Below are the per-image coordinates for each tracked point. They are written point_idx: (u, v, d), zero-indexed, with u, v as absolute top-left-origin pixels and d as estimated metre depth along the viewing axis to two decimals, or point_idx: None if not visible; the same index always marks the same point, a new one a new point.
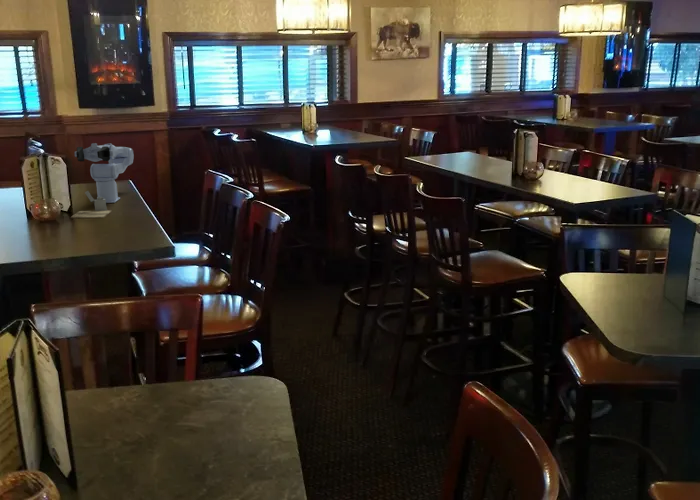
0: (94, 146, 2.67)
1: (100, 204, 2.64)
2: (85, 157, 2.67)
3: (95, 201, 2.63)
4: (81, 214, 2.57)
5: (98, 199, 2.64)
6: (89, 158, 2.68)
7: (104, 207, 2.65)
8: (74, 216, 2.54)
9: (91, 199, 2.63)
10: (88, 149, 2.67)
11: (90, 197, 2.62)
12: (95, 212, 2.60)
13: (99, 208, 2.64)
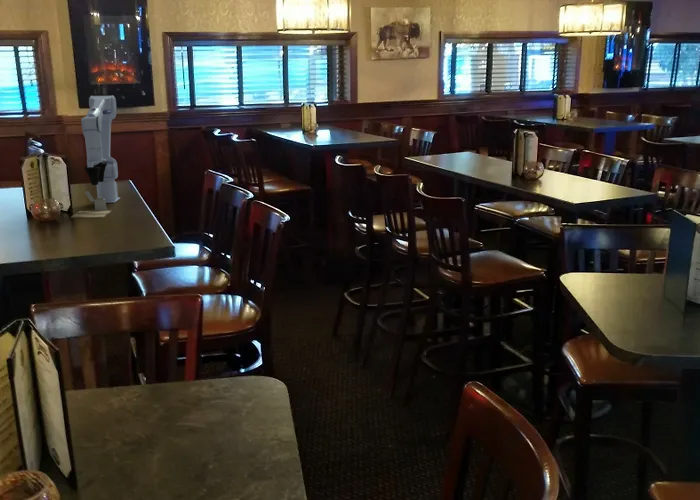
0: None
1: (100, 204, 2.64)
2: None
3: (95, 201, 2.63)
4: (81, 214, 2.57)
5: (98, 199, 2.64)
6: None
7: (104, 207, 2.65)
8: (74, 216, 2.54)
9: (91, 199, 2.63)
10: (98, 162, 2.63)
11: (90, 197, 2.62)
12: (95, 212, 2.60)
13: (99, 208, 2.64)
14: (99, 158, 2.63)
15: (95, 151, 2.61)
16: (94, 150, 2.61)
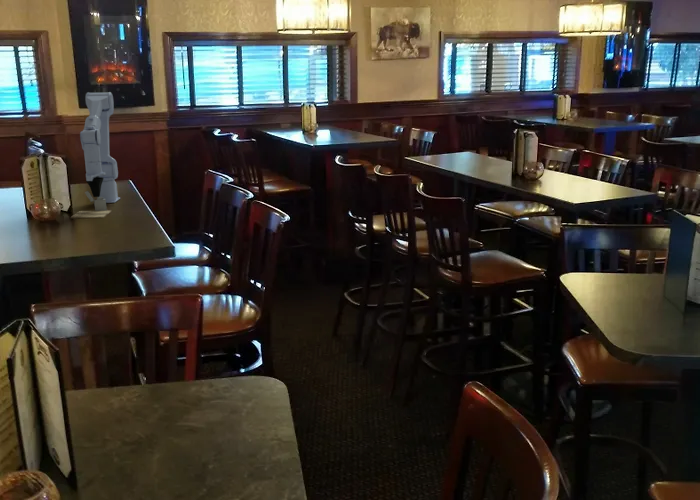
0: (102, 174, 2.64)
1: (100, 204, 2.64)
2: None
3: (95, 201, 2.63)
4: (81, 214, 2.57)
5: (98, 199, 2.64)
6: None
7: (104, 207, 2.65)
8: (74, 216, 2.54)
9: (91, 199, 2.63)
10: (97, 175, 2.61)
11: (90, 197, 2.62)
12: (95, 212, 2.60)
13: (99, 208, 2.64)
14: (98, 171, 2.61)
15: (94, 164, 2.60)
16: (93, 163, 2.59)
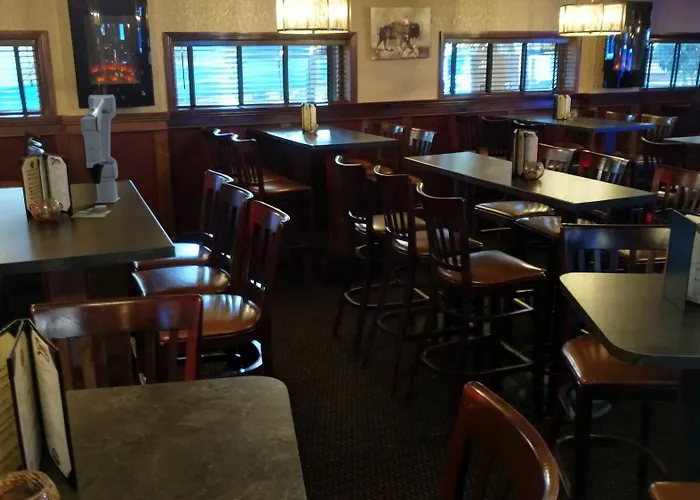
0: (102, 161, 2.64)
1: None
2: None
3: (96, 211, 2.61)
4: (81, 214, 2.57)
5: (99, 211, 2.61)
6: None
7: None
8: (74, 216, 2.54)
9: None
10: (97, 162, 2.62)
11: None
12: (95, 212, 2.60)
13: None
14: (98, 158, 2.62)
15: (94, 151, 2.60)
16: (93, 150, 2.60)
